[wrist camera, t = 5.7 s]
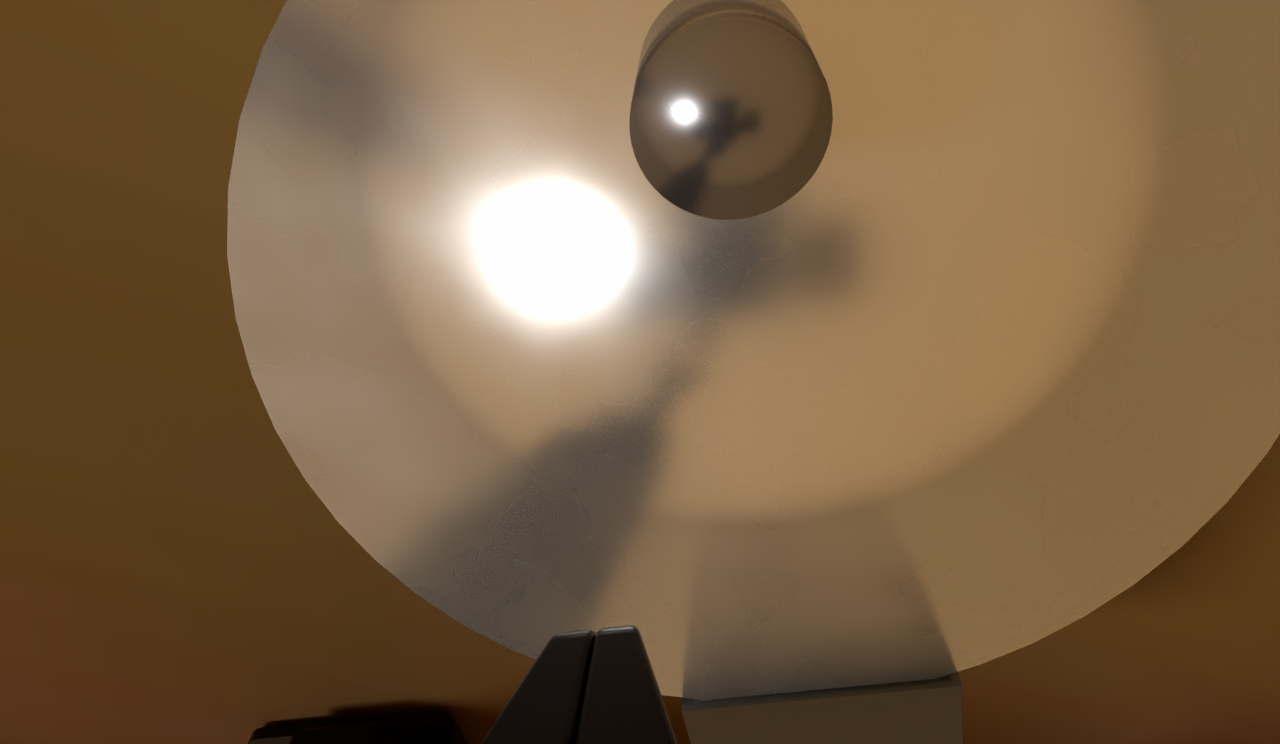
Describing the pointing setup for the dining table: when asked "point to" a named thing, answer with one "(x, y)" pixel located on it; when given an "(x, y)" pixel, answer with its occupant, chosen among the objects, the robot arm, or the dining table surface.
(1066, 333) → the lid
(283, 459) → the dining table surface
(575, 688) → the robot arm
